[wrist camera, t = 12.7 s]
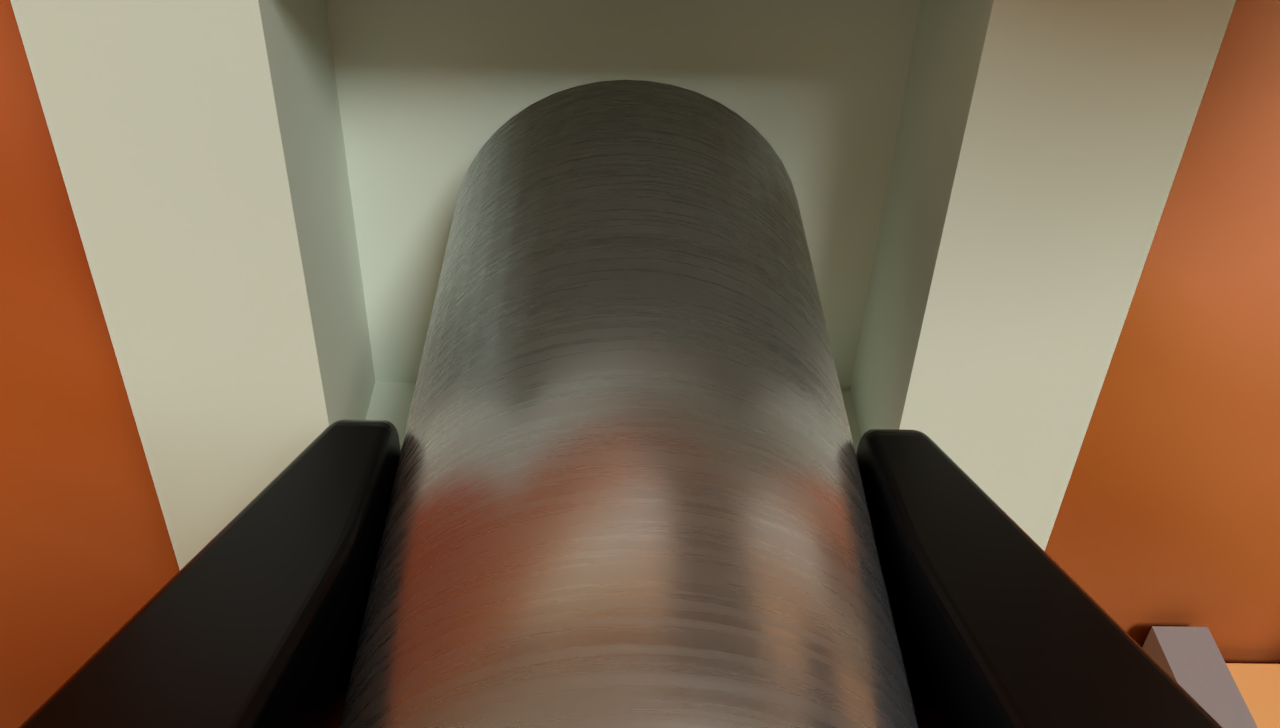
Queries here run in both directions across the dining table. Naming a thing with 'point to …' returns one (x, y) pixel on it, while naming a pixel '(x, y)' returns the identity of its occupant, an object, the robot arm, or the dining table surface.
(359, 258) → the white hollow flat block
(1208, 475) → the dining table surface
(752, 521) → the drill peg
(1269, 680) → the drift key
